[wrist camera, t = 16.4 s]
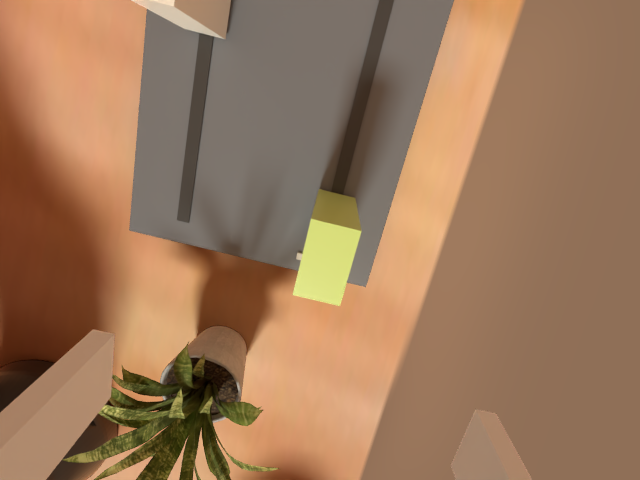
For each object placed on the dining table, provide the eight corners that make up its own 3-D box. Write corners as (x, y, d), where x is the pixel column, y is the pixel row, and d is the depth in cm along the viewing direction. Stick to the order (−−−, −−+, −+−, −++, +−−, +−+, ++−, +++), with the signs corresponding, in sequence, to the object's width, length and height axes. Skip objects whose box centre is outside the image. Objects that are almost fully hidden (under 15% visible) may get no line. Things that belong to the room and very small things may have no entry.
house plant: (277, 261, 35) (229, 377, 20) (318, 382, 39) (304, 557, 24) (138, 296, 37) (-5, 427, 22) (191, 408, 41) (102, 586, 26)
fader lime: (305, 246, 32) (292, 294, 24) (318, 188, 31) (310, 218, 22) (339, 254, 32) (339, 306, 24) (355, 197, 31) (361, 231, 22)
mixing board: (140, 223, 35) (128, 231, 33) (168, -92, 27) (154, -109, 25) (364, 277, 35) (365, 287, 33) (453, -16, 28) (462, -27, 26)
